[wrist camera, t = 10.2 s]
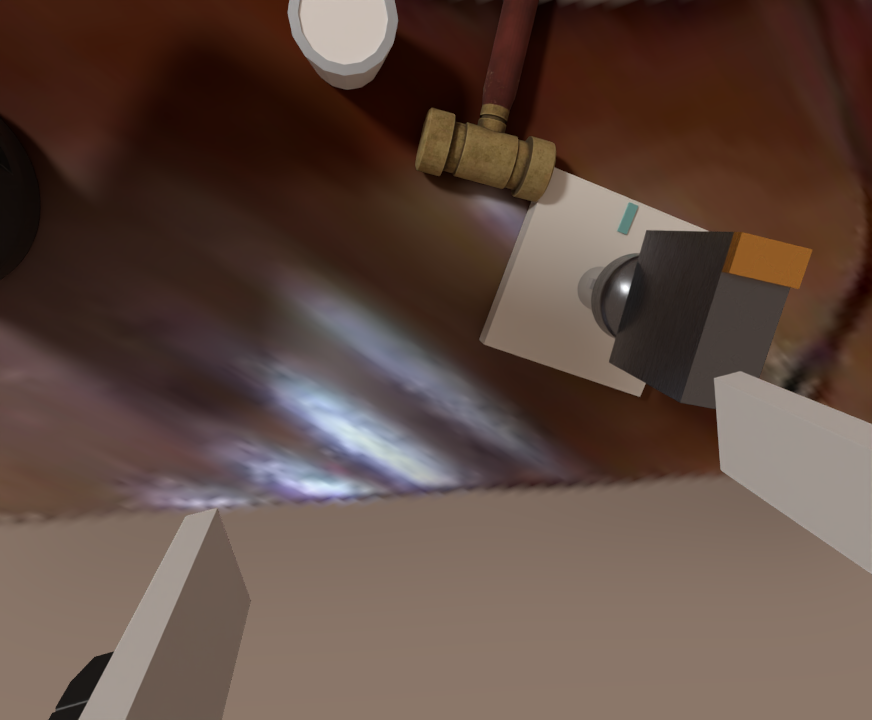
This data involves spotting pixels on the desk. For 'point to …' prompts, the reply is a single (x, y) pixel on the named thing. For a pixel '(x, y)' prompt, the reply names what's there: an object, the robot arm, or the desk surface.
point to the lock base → (569, 278)
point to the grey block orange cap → (695, 307)
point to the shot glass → (344, 37)
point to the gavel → (493, 122)
